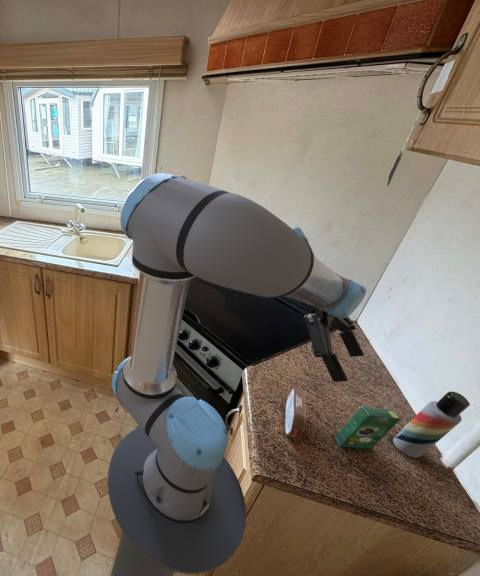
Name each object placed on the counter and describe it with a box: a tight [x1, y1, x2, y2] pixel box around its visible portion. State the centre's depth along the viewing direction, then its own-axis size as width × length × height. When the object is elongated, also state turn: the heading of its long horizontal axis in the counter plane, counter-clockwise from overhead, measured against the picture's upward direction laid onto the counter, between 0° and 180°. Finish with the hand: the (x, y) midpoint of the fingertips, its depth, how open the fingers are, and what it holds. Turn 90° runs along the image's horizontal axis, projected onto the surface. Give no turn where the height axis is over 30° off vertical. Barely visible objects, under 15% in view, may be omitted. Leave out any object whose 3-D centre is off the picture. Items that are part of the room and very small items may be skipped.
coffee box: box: [334, 405, 402, 450], centre depth 76 cm, size 8×3×13 cm, turn 86°
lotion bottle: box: [392, 391, 471, 459], centre depth 74 cm, size 6×6×20 cm
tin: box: [284, 387, 307, 442], centre depth 81 cm, size 15×3×8 cm, turn 151°
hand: (349, 367), depth 75 cm, fingers open, 13 cm apart
